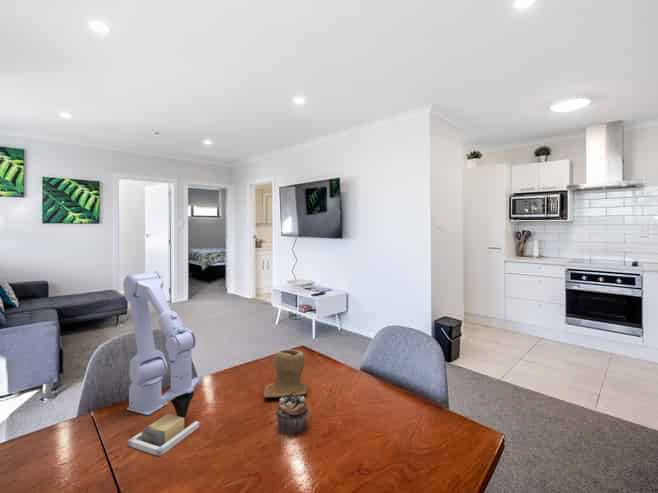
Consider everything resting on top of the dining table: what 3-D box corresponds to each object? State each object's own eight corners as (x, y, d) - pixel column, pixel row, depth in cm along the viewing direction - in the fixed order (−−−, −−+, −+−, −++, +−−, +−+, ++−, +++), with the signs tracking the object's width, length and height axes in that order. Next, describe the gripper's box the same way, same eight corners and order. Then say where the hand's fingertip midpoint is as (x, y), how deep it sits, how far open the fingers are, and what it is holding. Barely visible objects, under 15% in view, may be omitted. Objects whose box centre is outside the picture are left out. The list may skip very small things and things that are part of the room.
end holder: (127, 445, 92) (127, 440, 92) (169, 418, 106) (169, 414, 105) (159, 456, 88) (159, 450, 88) (199, 426, 101) (199, 421, 101)
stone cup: (304, 383, 130) (304, 344, 130) (308, 399, 119) (308, 356, 118) (264, 386, 128) (264, 347, 127) (263, 402, 116) (263, 359, 115)
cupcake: (314, 423, 104) (314, 391, 103) (295, 440, 95) (295, 405, 95) (289, 414, 109) (289, 383, 108) (268, 429, 100) (268, 396, 100)
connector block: (142, 444, 93) (141, 430, 93) (168, 426, 102) (168, 413, 101) (158, 449, 91) (158, 435, 91) (184, 431, 99) (184, 417, 99)
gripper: (172, 385, 94) (172, 433, 94) (208, 365, 107) (209, 408, 108) (152, 380, 96) (153, 427, 97) (191, 362, 110) (191, 403, 110)
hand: (181, 417), depth 103 cm, fingers closed
